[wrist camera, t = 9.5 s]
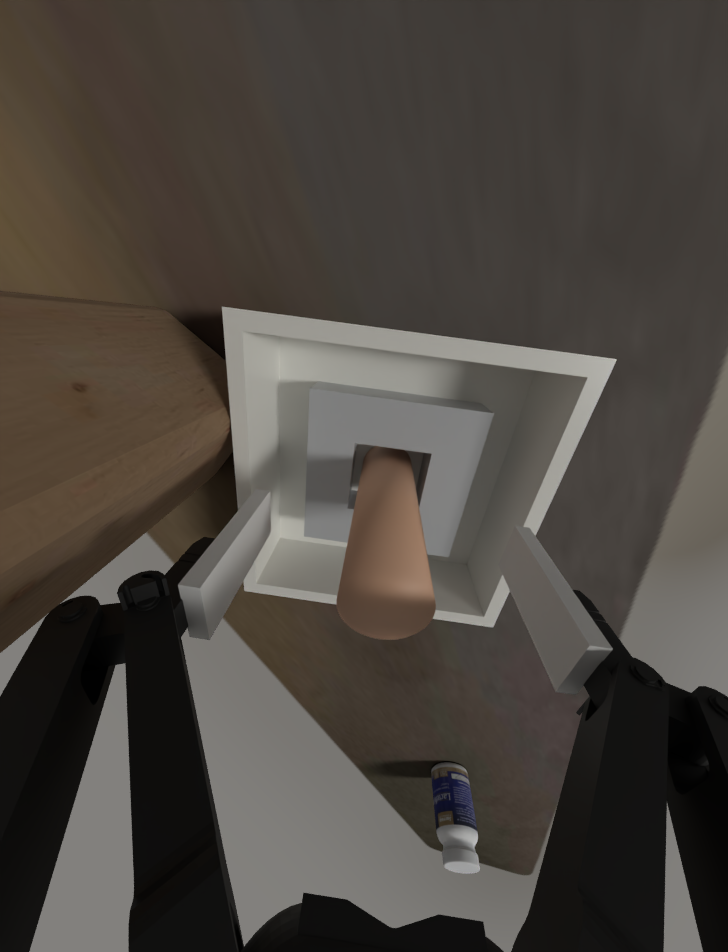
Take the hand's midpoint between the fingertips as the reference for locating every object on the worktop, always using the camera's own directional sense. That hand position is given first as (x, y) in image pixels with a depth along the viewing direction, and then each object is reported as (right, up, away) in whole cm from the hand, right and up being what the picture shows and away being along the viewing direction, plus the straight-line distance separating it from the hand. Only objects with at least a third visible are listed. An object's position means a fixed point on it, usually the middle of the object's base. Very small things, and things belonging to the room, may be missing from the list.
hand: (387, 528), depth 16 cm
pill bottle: (+12, -44, +32) cm, 56 cm away
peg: (+1, +4, +8) cm, 9 cm away
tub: (+1, +4, +9) cm, 10 cm away
